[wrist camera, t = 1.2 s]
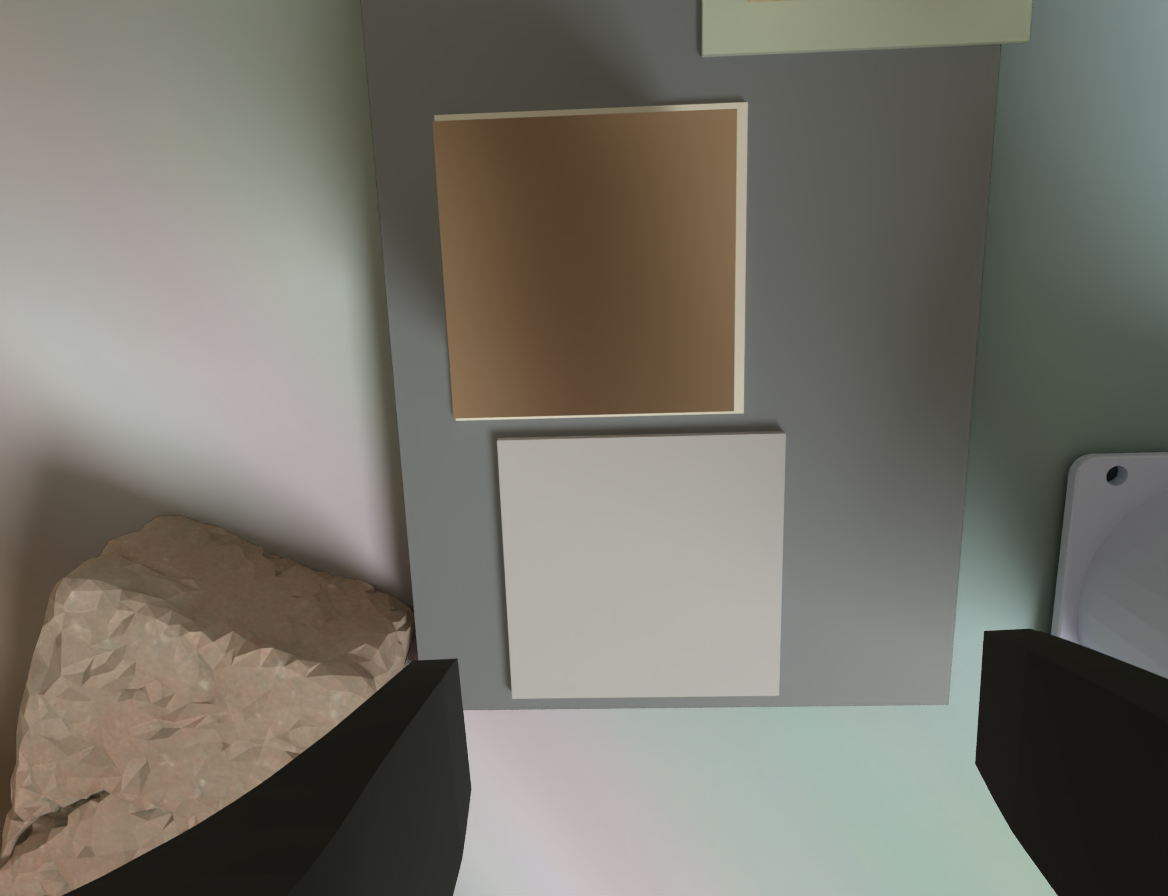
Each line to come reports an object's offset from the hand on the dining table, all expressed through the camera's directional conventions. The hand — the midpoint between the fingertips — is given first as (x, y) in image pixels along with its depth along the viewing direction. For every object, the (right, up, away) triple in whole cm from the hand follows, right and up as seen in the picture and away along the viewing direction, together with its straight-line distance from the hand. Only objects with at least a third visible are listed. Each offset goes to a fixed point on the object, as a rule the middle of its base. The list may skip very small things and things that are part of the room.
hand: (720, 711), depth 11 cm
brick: (-13, -7, +13) cm, 20 cm away
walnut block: (-2, +8, +8) cm, 11 cm away
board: (0, +9, +9) cm, 12 cm away
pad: (0, +1, +9) cm, 9 cm away
